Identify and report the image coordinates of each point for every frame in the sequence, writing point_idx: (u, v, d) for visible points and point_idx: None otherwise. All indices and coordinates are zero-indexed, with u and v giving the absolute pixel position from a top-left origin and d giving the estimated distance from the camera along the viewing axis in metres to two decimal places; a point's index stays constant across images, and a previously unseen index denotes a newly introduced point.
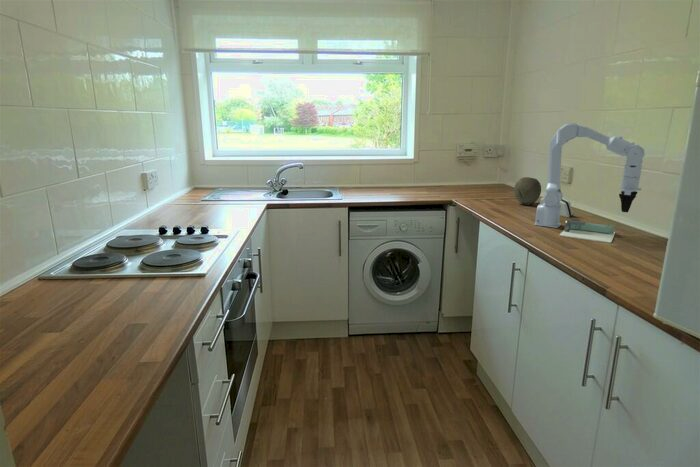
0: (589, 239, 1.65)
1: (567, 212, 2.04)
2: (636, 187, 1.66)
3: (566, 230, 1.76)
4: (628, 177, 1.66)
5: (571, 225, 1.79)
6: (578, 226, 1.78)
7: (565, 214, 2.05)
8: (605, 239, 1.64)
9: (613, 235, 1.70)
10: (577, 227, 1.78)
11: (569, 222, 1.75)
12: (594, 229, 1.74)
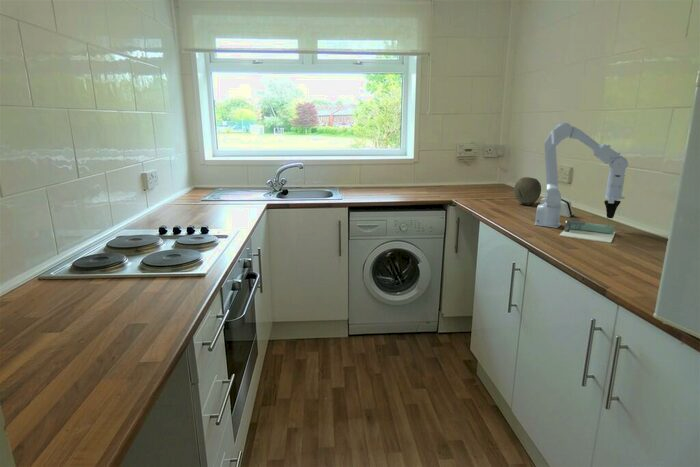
0: (589, 239, 1.65)
1: (568, 212, 2.04)
2: (619, 196, 1.73)
3: (566, 230, 1.76)
4: (612, 186, 1.73)
5: (571, 225, 1.79)
6: (578, 226, 1.78)
7: (566, 214, 2.05)
8: (605, 239, 1.64)
9: (613, 235, 1.70)
10: (577, 227, 1.78)
11: (569, 222, 1.75)
12: (594, 229, 1.74)
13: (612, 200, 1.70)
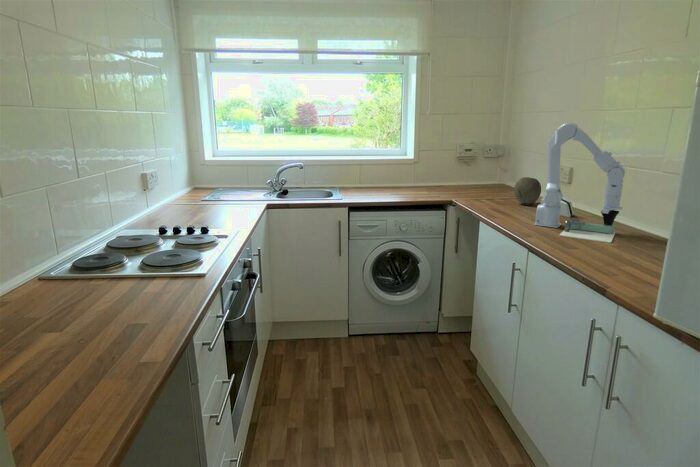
0: (589, 239, 1.65)
1: (568, 212, 2.04)
2: (616, 206, 1.71)
3: (566, 230, 1.76)
4: (608, 196, 1.71)
5: (571, 225, 1.79)
6: (578, 226, 1.78)
7: (566, 214, 2.05)
8: (605, 239, 1.64)
9: (613, 235, 1.70)
10: (577, 227, 1.78)
11: (569, 222, 1.75)
12: (594, 229, 1.74)
13: (606, 210, 1.68)
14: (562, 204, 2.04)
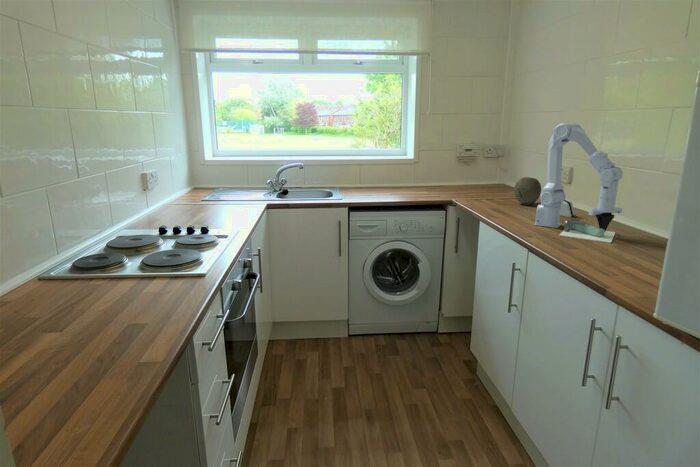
0: (589, 239, 1.65)
1: (569, 212, 2.03)
2: (607, 209, 1.65)
3: (566, 230, 1.76)
4: (600, 198, 1.66)
5: None
6: (574, 226, 1.78)
7: (567, 214, 2.04)
8: (605, 239, 1.64)
9: (613, 235, 1.70)
10: (573, 227, 1.78)
11: (569, 222, 1.75)
12: (585, 230, 1.73)
13: (591, 211, 1.65)
14: (563, 204, 2.04)
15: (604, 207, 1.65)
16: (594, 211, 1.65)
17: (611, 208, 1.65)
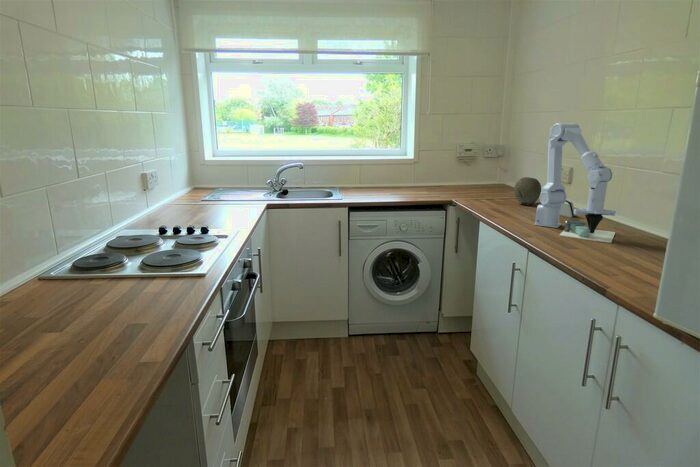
0: (589, 239, 1.65)
1: (570, 212, 2.03)
2: (592, 209, 1.64)
3: (566, 230, 1.76)
4: (588, 198, 1.66)
5: None
6: (571, 225, 1.79)
7: (568, 214, 2.04)
8: (605, 239, 1.64)
9: (613, 235, 1.70)
10: (570, 226, 1.79)
11: (569, 222, 1.75)
12: (575, 230, 1.73)
13: (574, 211, 1.67)
14: (564, 204, 2.04)
15: (589, 207, 1.65)
16: (577, 210, 1.66)
17: (596, 209, 1.63)
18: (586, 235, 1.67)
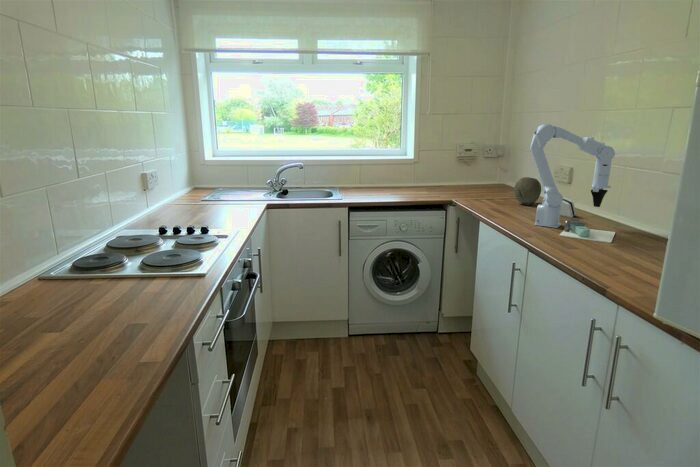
0: (589, 239, 1.65)
1: (571, 212, 2.03)
2: (605, 184, 1.76)
3: (566, 230, 1.76)
4: (597, 175, 1.77)
5: None
6: (571, 225, 1.79)
7: (569, 214, 2.04)
8: (605, 239, 1.64)
9: (613, 235, 1.70)
10: (570, 226, 1.79)
11: (569, 222, 1.75)
12: (575, 230, 1.73)
13: (596, 188, 1.74)
14: (564, 204, 2.03)
15: (603, 183, 1.76)
16: (599, 188, 1.74)
17: (607, 184, 1.77)
18: (586, 235, 1.67)
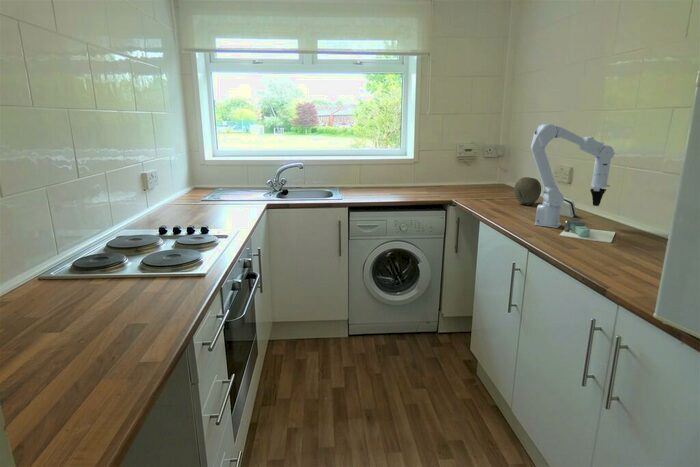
0: (589, 239, 1.65)
1: (571, 212, 2.03)
2: (605, 184, 1.78)
3: (566, 230, 1.76)
4: (597, 174, 1.78)
5: None
6: (571, 225, 1.79)
7: (569, 214, 2.04)
8: (605, 239, 1.64)
9: (613, 235, 1.70)
10: (570, 226, 1.79)
11: (569, 222, 1.75)
12: (575, 230, 1.73)
13: (597, 188, 1.75)
14: (565, 204, 2.03)
15: (602, 182, 1.78)
16: (599, 187, 1.75)
17: (606, 183, 1.79)
18: (586, 235, 1.67)
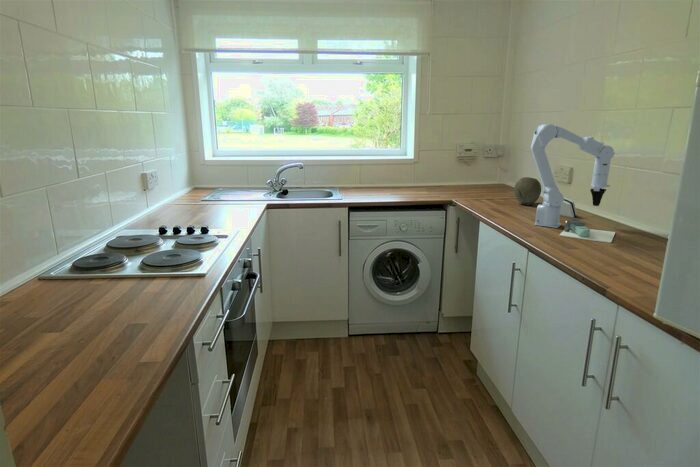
0: (589, 239, 1.65)
1: (572, 212, 2.03)
2: (605, 184, 1.78)
3: (566, 230, 1.76)
4: (597, 174, 1.78)
5: None
6: (571, 225, 1.79)
7: (569, 214, 2.04)
8: (605, 239, 1.64)
9: (613, 235, 1.70)
10: (570, 226, 1.79)
11: (569, 222, 1.75)
12: (575, 230, 1.73)
13: (597, 188, 1.75)
14: (565, 204, 2.03)
15: (602, 182, 1.78)
16: (599, 187, 1.75)
17: (606, 183, 1.79)
18: (586, 235, 1.67)
